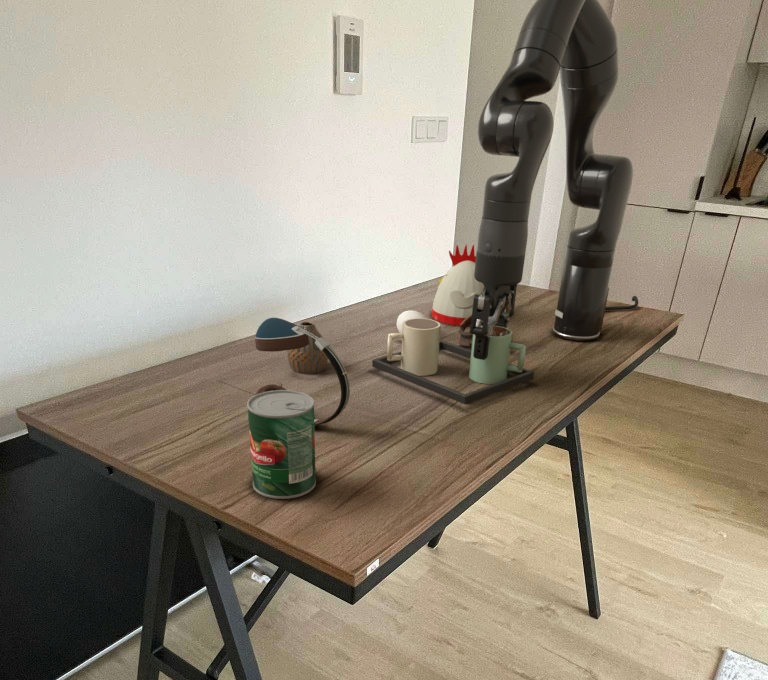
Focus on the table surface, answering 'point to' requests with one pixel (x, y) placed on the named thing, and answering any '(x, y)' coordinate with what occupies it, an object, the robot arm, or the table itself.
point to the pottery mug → (465, 333)
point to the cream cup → (417, 346)
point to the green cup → (496, 358)
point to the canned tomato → (282, 443)
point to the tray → (445, 391)
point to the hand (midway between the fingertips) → (489, 351)
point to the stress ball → (405, 316)
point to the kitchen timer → (457, 290)
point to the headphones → (290, 336)
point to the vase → (308, 354)
